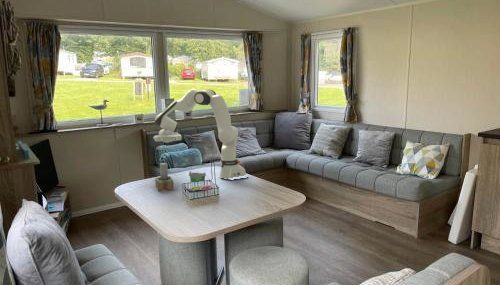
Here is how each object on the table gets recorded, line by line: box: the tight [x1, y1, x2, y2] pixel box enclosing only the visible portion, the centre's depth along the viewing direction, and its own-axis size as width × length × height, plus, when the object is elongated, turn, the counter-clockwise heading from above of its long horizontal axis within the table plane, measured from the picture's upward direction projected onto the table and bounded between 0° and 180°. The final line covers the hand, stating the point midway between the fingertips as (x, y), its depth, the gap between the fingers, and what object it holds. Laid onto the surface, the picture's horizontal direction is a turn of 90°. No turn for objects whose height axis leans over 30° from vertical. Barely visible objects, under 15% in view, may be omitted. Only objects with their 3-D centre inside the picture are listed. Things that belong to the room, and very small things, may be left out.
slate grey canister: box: [159, 162, 169, 181], centre depth 253 cm, size 5×5×12 cm
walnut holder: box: [154, 175, 175, 192], centre depth 254 cm, size 10×14×6 cm
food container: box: [188, 170, 207, 183], centre depth 257 cm, size 12×6×10 cm, turn 73°
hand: (169, 139), depth 271 cm, fingers open, 8 cm apart
